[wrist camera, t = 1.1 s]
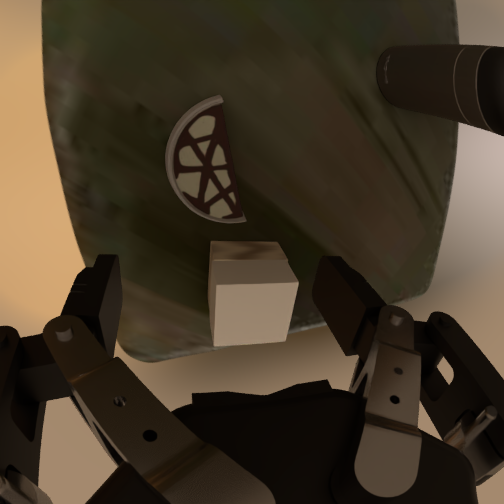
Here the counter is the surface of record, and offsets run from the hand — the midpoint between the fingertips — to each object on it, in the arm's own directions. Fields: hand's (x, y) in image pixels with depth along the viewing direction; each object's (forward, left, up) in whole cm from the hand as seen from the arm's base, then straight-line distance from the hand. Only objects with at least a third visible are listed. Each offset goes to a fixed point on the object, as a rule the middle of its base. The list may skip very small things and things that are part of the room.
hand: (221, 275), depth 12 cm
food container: (0, 0, -27) cm, 27 cm away
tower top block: (-7, +16, -22) cm, 28 cm away
